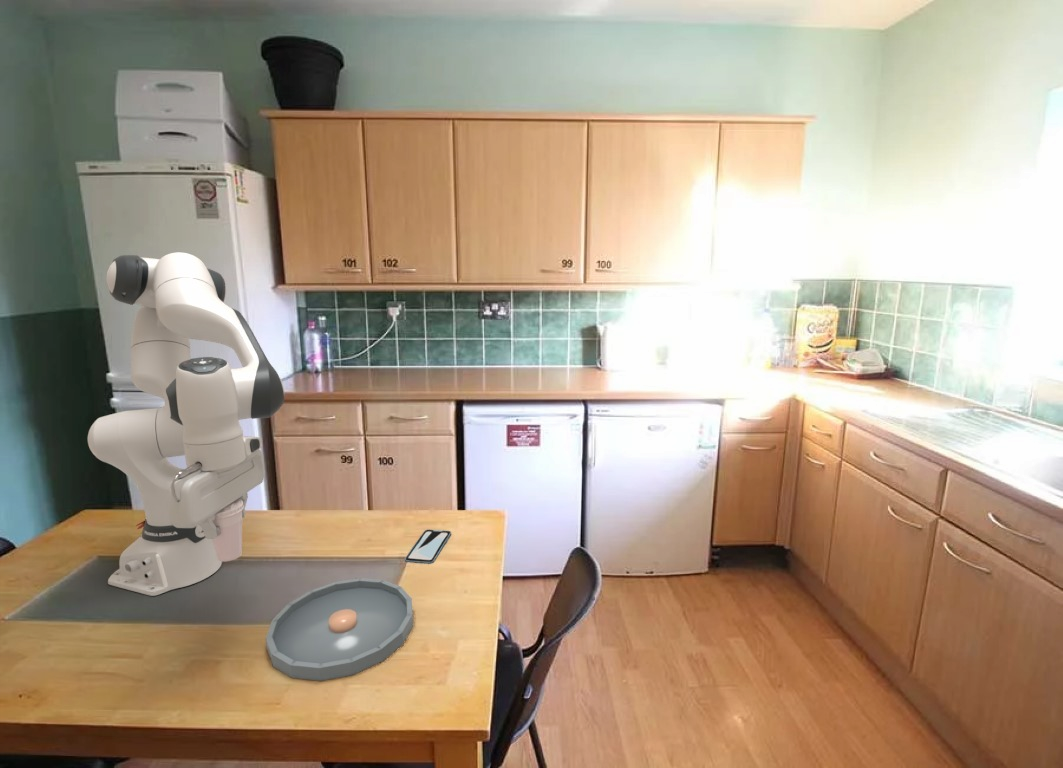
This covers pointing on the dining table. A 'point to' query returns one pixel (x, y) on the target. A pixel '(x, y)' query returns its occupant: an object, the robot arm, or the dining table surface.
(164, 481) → the robot arm
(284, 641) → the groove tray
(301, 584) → the dining table surface
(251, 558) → the dining table surface
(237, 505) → the smoothie
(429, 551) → the smartphone
